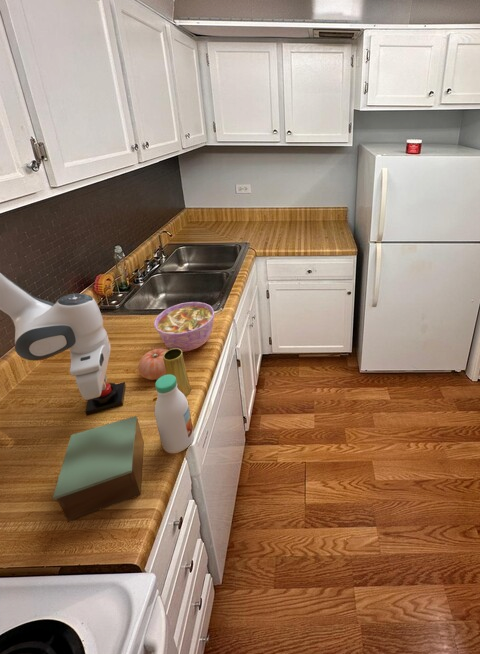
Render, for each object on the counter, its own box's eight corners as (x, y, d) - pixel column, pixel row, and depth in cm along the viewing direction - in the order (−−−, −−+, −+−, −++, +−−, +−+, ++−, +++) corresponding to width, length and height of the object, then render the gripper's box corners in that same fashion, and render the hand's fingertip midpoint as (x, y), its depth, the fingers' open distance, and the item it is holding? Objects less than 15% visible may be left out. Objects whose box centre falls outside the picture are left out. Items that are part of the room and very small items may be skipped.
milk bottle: (184, 457, 81) (171, 395, 74) (155, 451, 83) (140, 391, 75) (199, 429, 88) (189, 371, 81) (173, 425, 90) (160, 367, 82)
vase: (180, 381, 104) (173, 344, 99) (195, 388, 102) (188, 350, 96) (164, 395, 99) (156, 357, 94) (179, 402, 97) (171, 364, 91)
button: (96, 398, 94) (94, 393, 93) (98, 389, 97) (97, 385, 97) (110, 394, 95) (109, 390, 95) (112, 385, 98) (111, 381, 98)
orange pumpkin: (139, 389, 101) (133, 369, 98) (142, 366, 110) (137, 347, 107) (177, 380, 105) (173, 359, 102) (177, 358, 114) (173, 339, 111)
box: (140, 494, 73) (132, 468, 70) (67, 522, 68) (55, 495, 65) (144, 442, 85) (137, 417, 82) (81, 462, 80) (71, 437, 77)
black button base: (86, 415, 92) (83, 406, 91) (92, 395, 99) (89, 386, 98) (122, 405, 96) (120, 396, 94) (125, 386, 103) (123, 377, 101)
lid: (132, 472, 69) (131, 470, 69) (53, 500, 64) (52, 497, 64) (137, 417, 82) (136, 415, 81) (71, 437, 77) (70, 434, 76)
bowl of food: (189, 322, 134) (184, 297, 129) (228, 335, 126) (225, 309, 122) (147, 352, 117) (140, 324, 113) (190, 369, 109) (184, 340, 105)
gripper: (85, 329, 98) (97, 366, 103) (67, 376, 81) (83, 417, 86) (109, 324, 100) (120, 360, 106) (97, 369, 83) (110, 409, 88)
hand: (103, 386), depth 96 cm, fingers closed
